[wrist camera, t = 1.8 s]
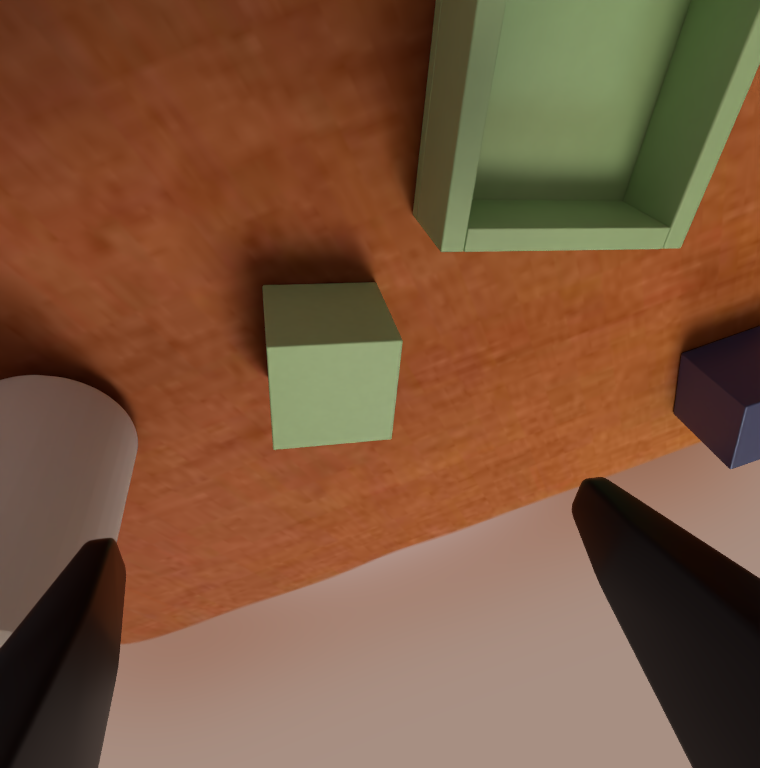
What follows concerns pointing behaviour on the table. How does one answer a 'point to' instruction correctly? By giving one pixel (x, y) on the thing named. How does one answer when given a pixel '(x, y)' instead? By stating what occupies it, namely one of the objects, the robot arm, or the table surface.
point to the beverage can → (56, 482)
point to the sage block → (330, 363)
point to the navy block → (723, 396)
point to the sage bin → (578, 120)
